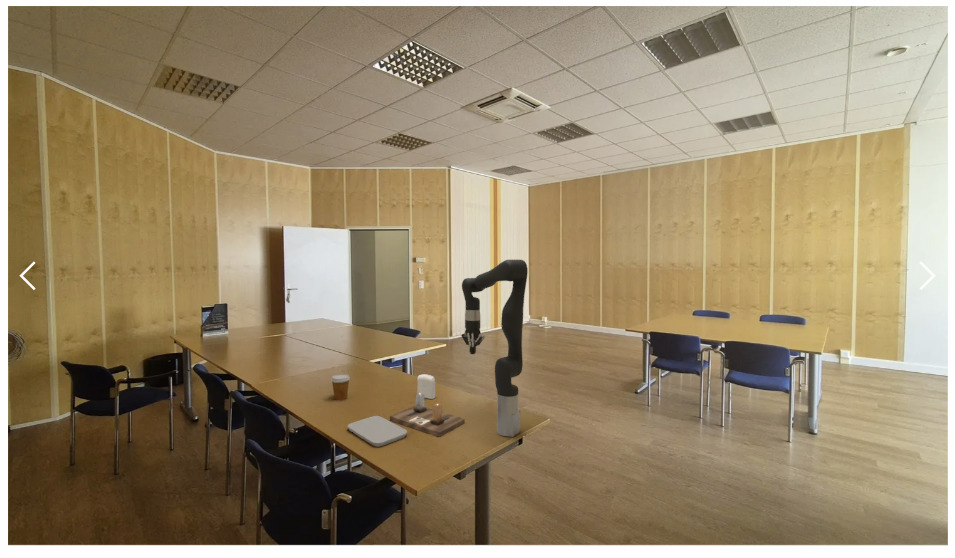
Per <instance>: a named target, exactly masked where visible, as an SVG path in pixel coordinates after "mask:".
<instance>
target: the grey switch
mask: <svg viewBox="0 0 955 558" xmlns="http://www.w3.org/2000/svg"><path fill="white" fill-rule="evenodd" d="M425 399H426V398H425V395H424V394H423V393H422V392H419V393H418V392H417V394H416V395H415V405H416V408H414V411H417V412H423V411H425V410H427V408H428V407H427V406H426V405H425ZM426 407H427V408H426Z"/></svg>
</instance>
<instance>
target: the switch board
mask: <svg viewBox="0 0 955 558" xmlns="http://www.w3.org/2000/svg"><path fill="white" fill-rule="evenodd" d="M425 407H426V408H427V410H425V411H423V412H417V411H414V408H416V404H414V405H413V406H410V407H408V408H405V409H403V410H401V411H399V412H396V413H394V414H392V415H390V416H389V421H390V422H392V423H395V424H396V423H397V424H399V425H402V426H406V427H407V428H412V429H414V430H417V431H419V432H423V433H426V434H429V435H431V436H435V437H436V438H437V437H438V438H441V437H442V436H444V435H446V434H447V433H450V432H452V431H454V430H455V429H456V428H458V427H460V426H462V425H463V424H466V423H465V420H466V419H465V418H464V417H461V416H457V415H453V414H450V413H447V412H443V411H442V419H444V422H443V423H441V424H439V425H436V424H433V423H430V420H432V419H433V408H431V407H430V408H429V407H427V406H425Z"/></svg>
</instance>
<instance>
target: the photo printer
mask: <svg viewBox="0 0 955 558" xmlns="http://www.w3.org/2000/svg"><path fill="white" fill-rule="evenodd" d="M416 380H417V381H416V382H417V383H416V385H417V388H416V390H417V394H418V393H419V392H422V393H423V394H424V395H425V399H430V400H433V399H436V378H435V377H434V376H433V375H430V374H426V373H425V374H423V373H422V374H420V375H418V376H417V379H416Z"/></svg>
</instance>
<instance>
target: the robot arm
mask: <svg viewBox="0 0 955 558" xmlns="http://www.w3.org/2000/svg"><path fill="white" fill-rule="evenodd" d="M527 281H528V265H527V263H526V261H525V260H523V259H505V260H502V261H501V262H499V264H497V265H496V266H495V267H493V268H492V269H490V270H488V271H486V272H483V273H481V274H477V276H476V277H467V278H464V279H463V280H462V283H461V289H462V293H463V296H464V301H465V313H464V329H465V331H464V332H463V333H461V335H460V336H461V338H462V340H463V341H464V343H465V345H467V346H468V347H469V354H470V355H475V354H476V352H477V347H478V346H480V345H481V343H482V342H483V340H485V335H483V334H482V333H481V301H480V298H479V297H475V296H474V295H473V293H480V292H483V291H484V290H485V289H488V288H490V287H491V288H492V287H493V286H494V285H496V284H497V282H512V289H511V292H510V295H509V297H508V299H507V300H506V302H505V303H504V306H503V308H502V311H501V319H500V320H501V324H500V326H501V329H502V333H503V334H504V337H505V339H506V340H507V346H508V347H507V348H508V349H507V356H503V357H499V358H498V359H497V360H496V361H495V364H494V381H495V388H496V433H497V434H498V435H499V436H502V437H512V438H513V437H515V436H517V435H518V434H519V433H520V432H521V430H520V429H521V410H519V387H518V386H517V385H515V384H513V383H512V378H516V377H518V376H520V374H521V373H522V371H523V362H524V361H523V343H522V342H523V326H524V325H523V324H524V306H525V304H524V303H525V293H526V285H527Z"/></svg>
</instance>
